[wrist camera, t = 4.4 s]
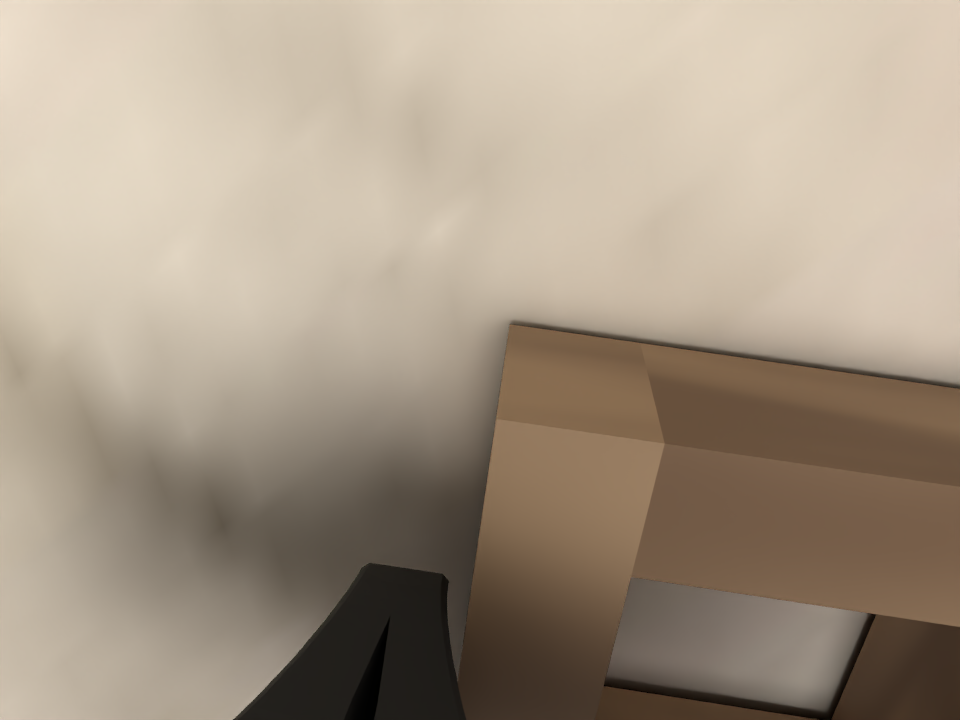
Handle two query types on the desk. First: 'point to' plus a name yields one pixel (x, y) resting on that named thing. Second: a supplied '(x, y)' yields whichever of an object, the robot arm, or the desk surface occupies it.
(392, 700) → the robot arm
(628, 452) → the socket block
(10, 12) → the desk surface
